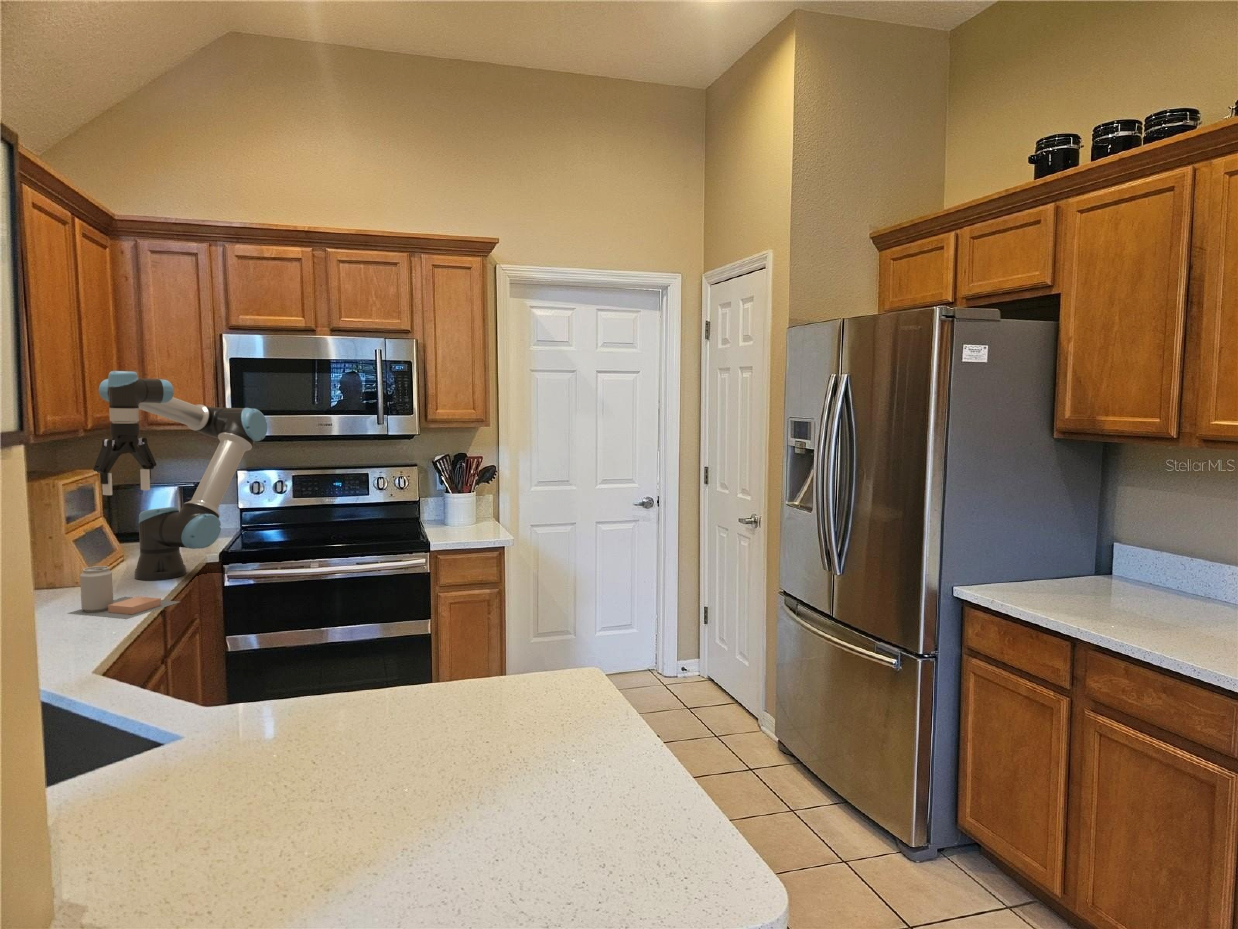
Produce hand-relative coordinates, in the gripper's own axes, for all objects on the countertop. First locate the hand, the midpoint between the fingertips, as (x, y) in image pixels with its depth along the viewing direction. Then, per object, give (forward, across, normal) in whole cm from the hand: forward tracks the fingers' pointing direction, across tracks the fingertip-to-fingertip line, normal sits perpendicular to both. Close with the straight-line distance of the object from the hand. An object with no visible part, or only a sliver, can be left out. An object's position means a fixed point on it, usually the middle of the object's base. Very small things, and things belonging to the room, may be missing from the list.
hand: (127, 492), depth 235 cm
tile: (+30, +9, +16) cm, 35 cm away
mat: (+32, +14, +12) cm, 36 cm away
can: (+31, +17, +6) cm, 36 cm away
